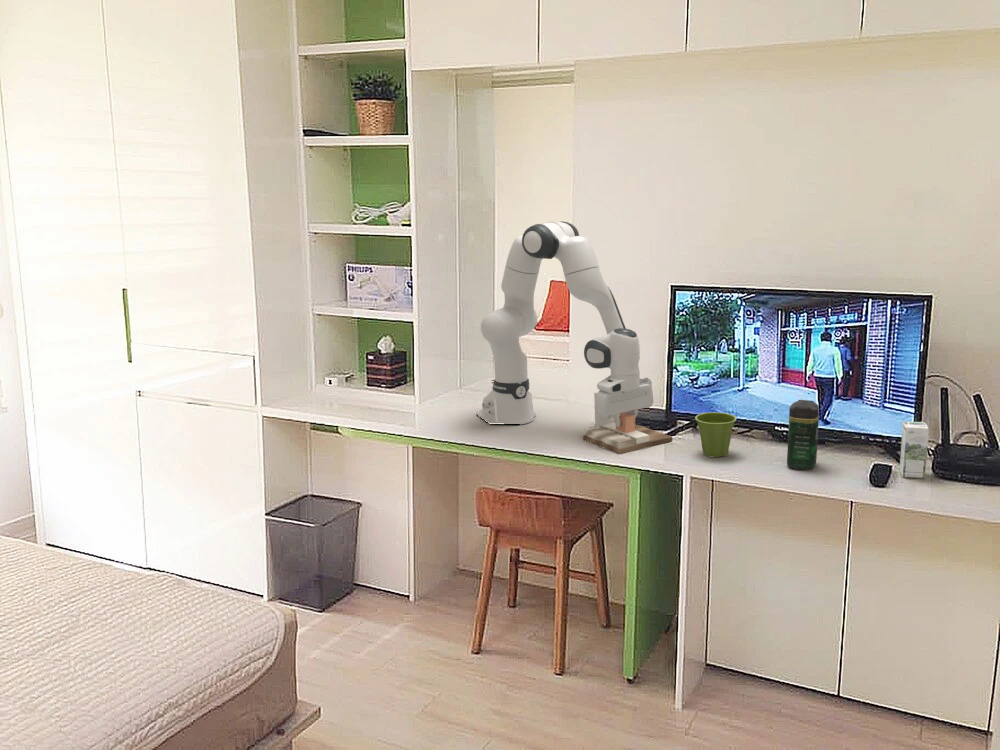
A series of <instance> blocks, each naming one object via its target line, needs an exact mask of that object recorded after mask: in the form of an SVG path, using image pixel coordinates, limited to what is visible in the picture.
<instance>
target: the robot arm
mask: <svg viewBox="0 0 1000 750" xmlns="http://www.w3.org/2000/svg"><path fill="white" fill-rule="evenodd" d="M579 233H580V232H579V230H578V229H577V227H576V226H575V225H574V224H572V223H570V222H568V221H548V222H545V223H544V222H543V223H536V224H534V225H531V226H529V227H527V228H526V229H525V230H524V232H523V234H520V235H518V236H516V237H515V239H514V240H513V242H512V244H511V247H510V249H509V252H508V254H507V259H506V262H505V267H504V272H503V274H502V275H503V277H502V279H501V280H502V281H501V286H500V287H501V291H502V292H503V293H504V304H503V306H502V308H498V309H496V310H492V311H491V312H489V314H487V315H485V316H484V317H483V319H482V320H481V323H480V331H481V334H482V337H483V338H484V339H485V340H486V341H487V342H488V344H489V345H490V348H491V349H490V350H491V352H492V355H493V361H494V364H493V365H494V379H492V380H491V381H492V382H491V384H492V389H491V391H490V392H489V393H488V394H486V396H484V397H483V399H482V402H481V406H482V408H481V409H479V410H477V411H476V412H475V415H476V414H477V415H478V416H479V418H480V417H481V418H483V419H484V420H486V421H487V422H489V423H504V424H520V425H525V424H528V423H529V424H530V423H531V422H533V421H534V419H535V417H537V412H536V411H534V402H533V395H532V393H531V392H530V391H529V390H530V379H529V377H528V356H527V355H526V353H525V352H523V350H522V348H521V344H520V338H521V337H523V336H526V335H528V334H529V333H531V331H533V330H534V329H535V328H536V327H537V325H538V315H537V312H536V310H535V306H534V305H535V303H534V301H535V300H534V299H535V298H534V295H535V292H536V291H535V290H536V285H537V281H538V277H539V272H540V267H541V263H542V260H543V259H544V260H552V259H553V258H555V259H557V260H558V261H559V262H560V264H561V267H562V270H563V271H562V272H563V274H564V275H563V276H564V279H565V284H566V287H567V288H568V291H569V293H570V294H571V295H572V296H573V297H574V298H575V299H577V300H579V301H583V302H586V303H588V304H591V305H592V306H594V307H595V308H596V310H597V311H598V313H599V315H600V317H601V320H602V321H601V322H602V323H603V326H604V328H605V331H606V332H605V333H606V334H605V335H602V336H600V337H596V338H593V339H591V340H589V341H587V342H586V343H585V345H584V347H583V348H584V350H583V355H584V360H585V362H586V364H587V365H588V366H589V367H591V368H593V369H597V370H599V369H600V370H601V369H607V368H608V369H610V375H608V376H607V377H605V378H604V379H602V380H601V381H599V382H597V384H596V387H597V391H598V393H597V396H596V412H597V413H598V414H599V415H601V416H609V415H612V416H613V418H614V420H615V425H616V426H617V427H620V426H622V425H623V424H622V423H623V421H621V420H620V419H619V417H618V416H620V413H623V412H626V413H629V412H630V414H632V415H635V419H636V418H637V415H638V414H639V410H641V409H645V408H646V409H647V408H651V407H653V404H654V393H653V383H652V380H651V379H650V378H649V377H643V378H640V373H641V372H640V366H639V363H640V357H641V356H640V355H641V352H640V351H641V349H640V339H639V336H638V334H637V333H636V331H634V330H632V329H630V328H627V327H626V326H625V323H624V320H623V318H622V315H621V312H620V310H619V306H618V304H617V301H616V299H615V296H614V294H613V291H612V290H611V289H610V286H608V285H607V283H606V282H605V280H604V278H603V275H602V273H601V270H600V266H599V262H598V260H597V257H596V253H595V251H594V249H593V246H592V244H591V242H590V240H589V239H588V238H587V237H585V236H581V235H580V234H579ZM477 415H476V416H477ZM478 416H477V417H478ZM481 418H480V419H481ZM484 420H483V421H484Z"/></svg>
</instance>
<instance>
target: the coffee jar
mask: <svg viewBox="0 0 1000 750" xmlns="http://www.w3.org/2000/svg"><path fill="white" fill-rule="evenodd" d="M819 416H820V405H819V404H817V403H816V402H815V401H813V400H806V399H798V400H797V401H794V402H793V403H792V404H791V405H790V406H789V413H788V431H787V432H788V437H787V452H786V453H787V454H786V465H787V467H789V468H792V469H794V470H797V469H801V470H800V471H804V470H812V469H814V468H815V466H816V464H817V454H818V453H817V452H818V439H819V424H820V423H819V421H820V417H819Z"/></svg>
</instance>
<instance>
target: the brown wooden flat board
mask: <svg viewBox="0 0 1000 750" xmlns="http://www.w3.org/2000/svg"><path fill="white" fill-rule="evenodd" d="M636 424H637V423H635V430H637V431H639V432H642V433H645V434H648V435H649V441H648V442H644V443H640V444H635V439H634V438H632V437H629V436H626V435H624V434H621V433H618V432H615V431H613V430H610V429H607V428H604V427H602V426H599V427H595V426H594V427H590V428H586V429H585V432H584V434H583V435H582V438H583V440H582V441H585V440H586V441H585V442H587V441H588V443H590V442H591V443H590V444H592V443H593V445H595V444H596V445H595V446H597V445H598V447H600V446H601V447H600V448H602V447H604V448H603V449H605V448H606V449H605V450H607V449H608V450H607V451H610V450H611V451H610V452H612V451H614V452H613V453H615V452H616V453H615V454H617V453H618V454H617V455H621V454H625V453H630V452H634V451H637V450H642V449H647V448H651V447H655V446H658V445H663V444H667V443H672V442H673V436H671V435H669V434H666V433H664V432H660V431H658V430H654V429H651V428H648V427H645V426H643V425H640V424H637V425H636Z"/></svg>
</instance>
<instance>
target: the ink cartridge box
mask: <svg viewBox="0 0 1000 750" xmlns="http://www.w3.org/2000/svg"><path fill="white" fill-rule="evenodd" d="M598 391H599V390H597V391H596V392H595V391H594V393H593V394H594V397H593V398H594V427H599V426H602V425H606V424H611V423H615V420H614V418H613V416H612V415H609V416H601V415H599V414H598V413H597V412H596V396H597V393H598Z"/></svg>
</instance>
